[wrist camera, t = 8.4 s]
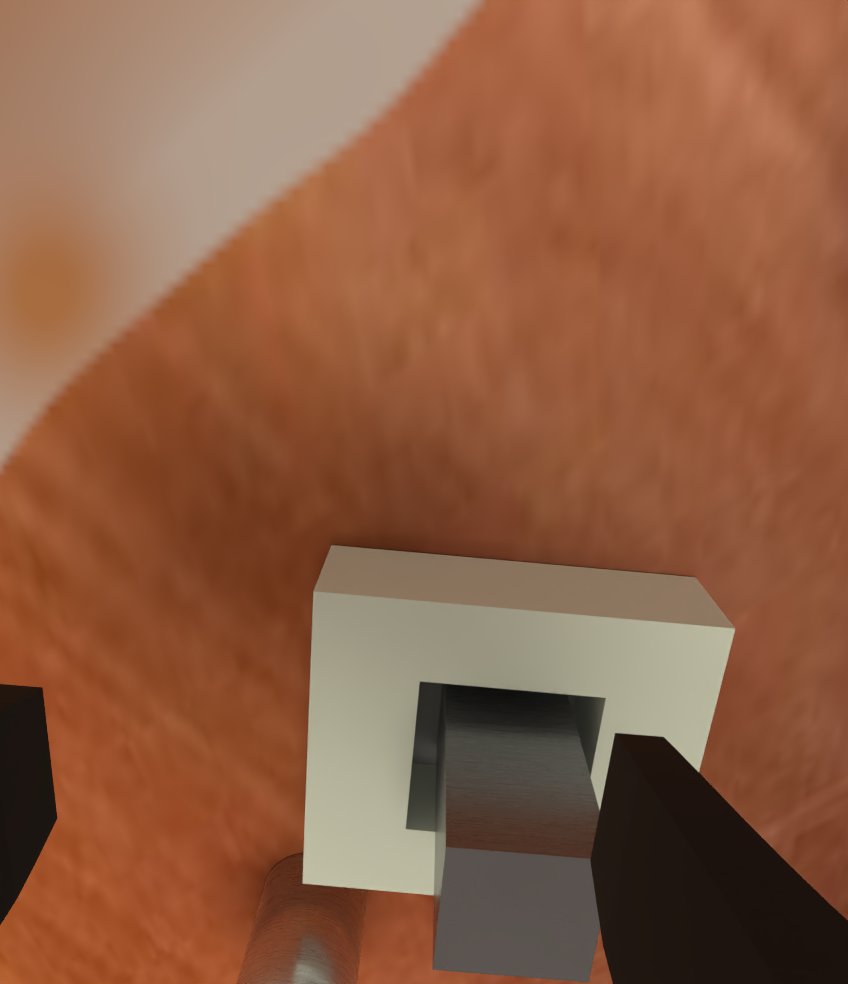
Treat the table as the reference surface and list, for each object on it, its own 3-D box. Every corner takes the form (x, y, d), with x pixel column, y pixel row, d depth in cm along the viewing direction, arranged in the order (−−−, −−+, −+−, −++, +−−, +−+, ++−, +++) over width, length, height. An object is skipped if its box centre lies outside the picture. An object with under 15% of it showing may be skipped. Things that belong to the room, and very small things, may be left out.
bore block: (695, 577, 19) (735, 628, 17) (636, 836, 22) (662, 915, 20) (331, 545, 19) (313, 591, 17) (319, 808, 22) (302, 883, 20)
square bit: (557, 660, 20) (613, 860, 13) (543, 753, 21) (588, 982, 15) (445, 651, 20) (445, 847, 14) (436, 744, 21) (432, 969, 15)
